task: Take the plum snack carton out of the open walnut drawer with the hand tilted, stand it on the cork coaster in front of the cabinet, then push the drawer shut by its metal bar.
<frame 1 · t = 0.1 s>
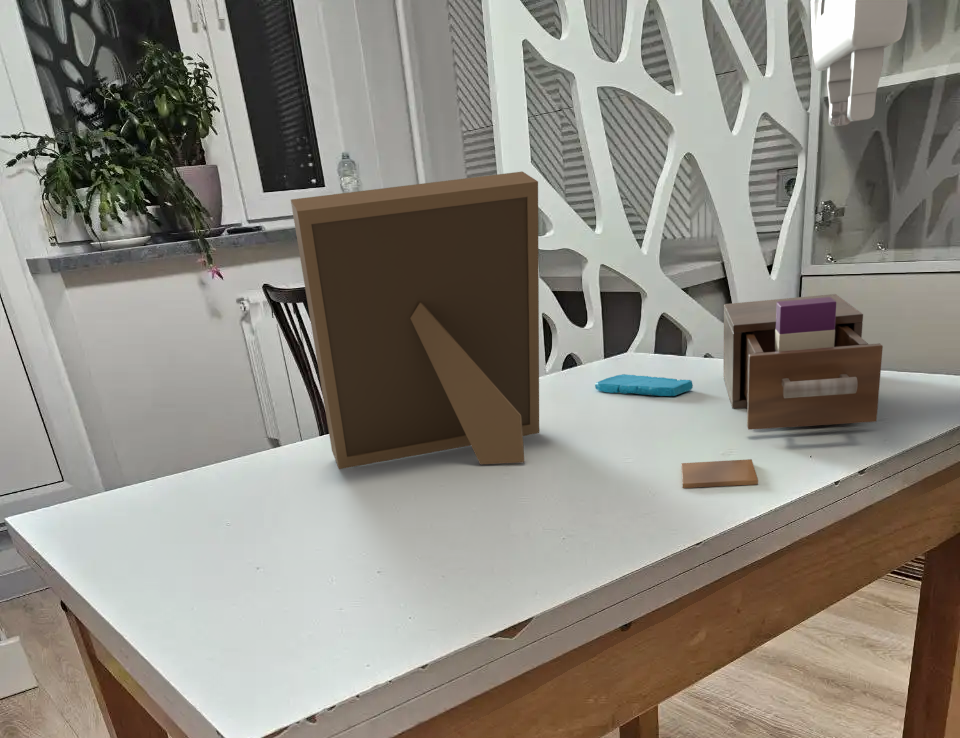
hand: (849, 123, 76), 25 cm above the table, tool pointing down, fingers open, 8 cm apart
photo frame: (448, 459, 92), on the table
snack carton: (801, 396, 91), point 2 cm above the table, touching drawer
cabinet: (784, 387, 103), on the table
coaster: (718, 475, 77), on the table
drawer: (804, 376, 88), point 4 cm above the table, slide at 11.5 cm, touching snack carton
sponge: (642, 392, 110), on the table
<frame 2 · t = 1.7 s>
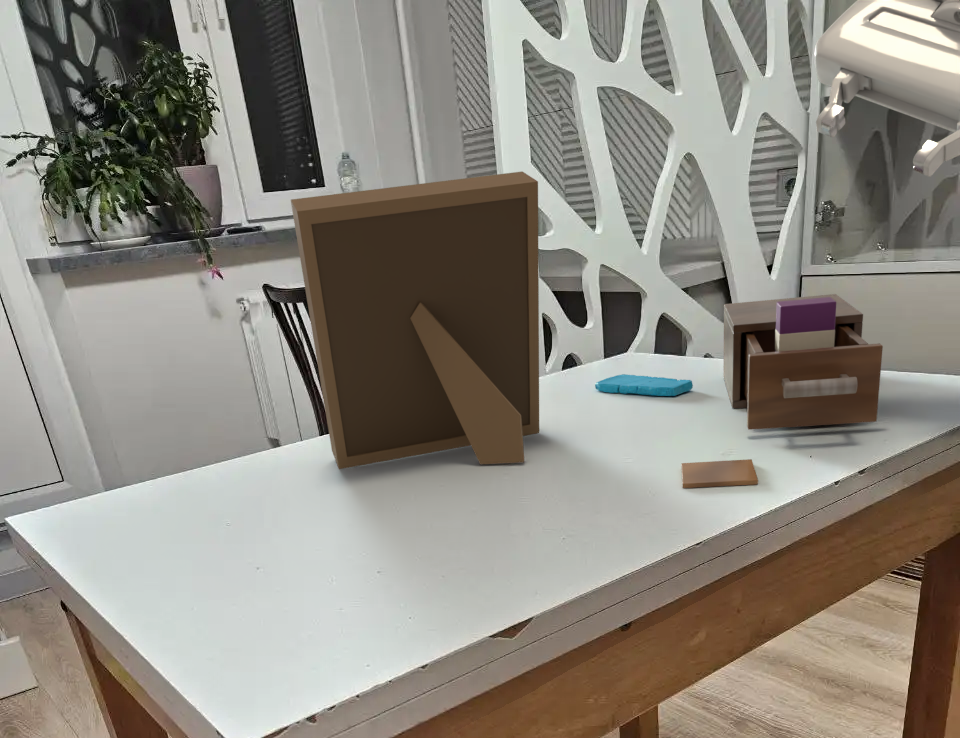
hand: (870, 148, 75), 23 cm above the table, tool tilted 50°, fingers open, 8 cm apart
nothing on the table moved.
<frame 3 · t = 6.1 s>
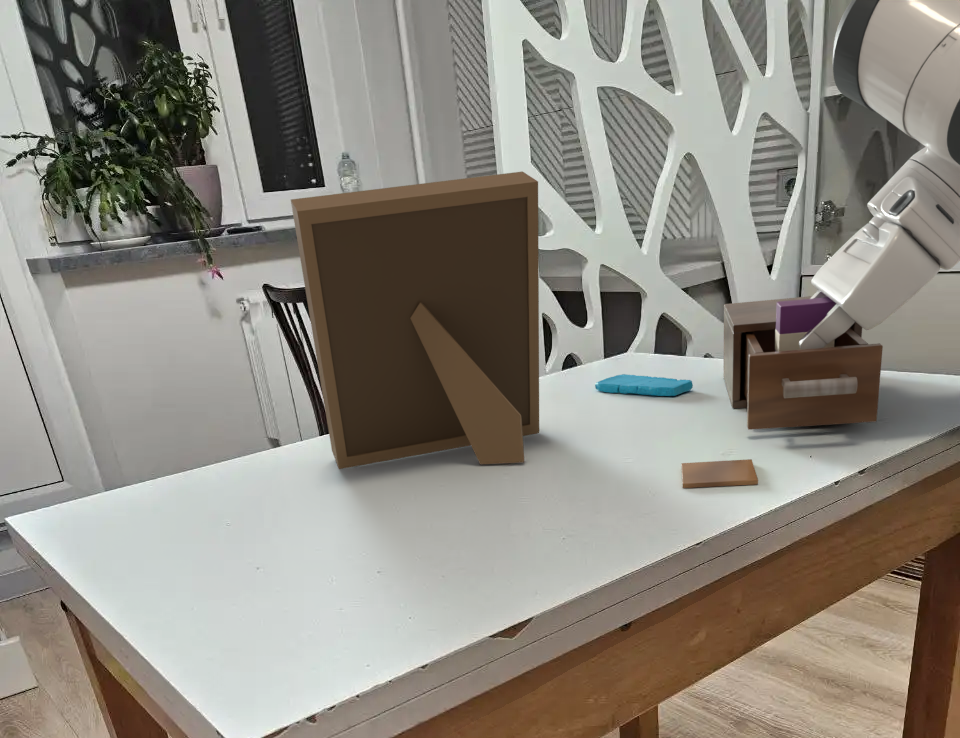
hand: (797, 343, 88), 7 cm above the table, tool tilted 45°, fingers open, 7 cm apart
nothing on the table moved.
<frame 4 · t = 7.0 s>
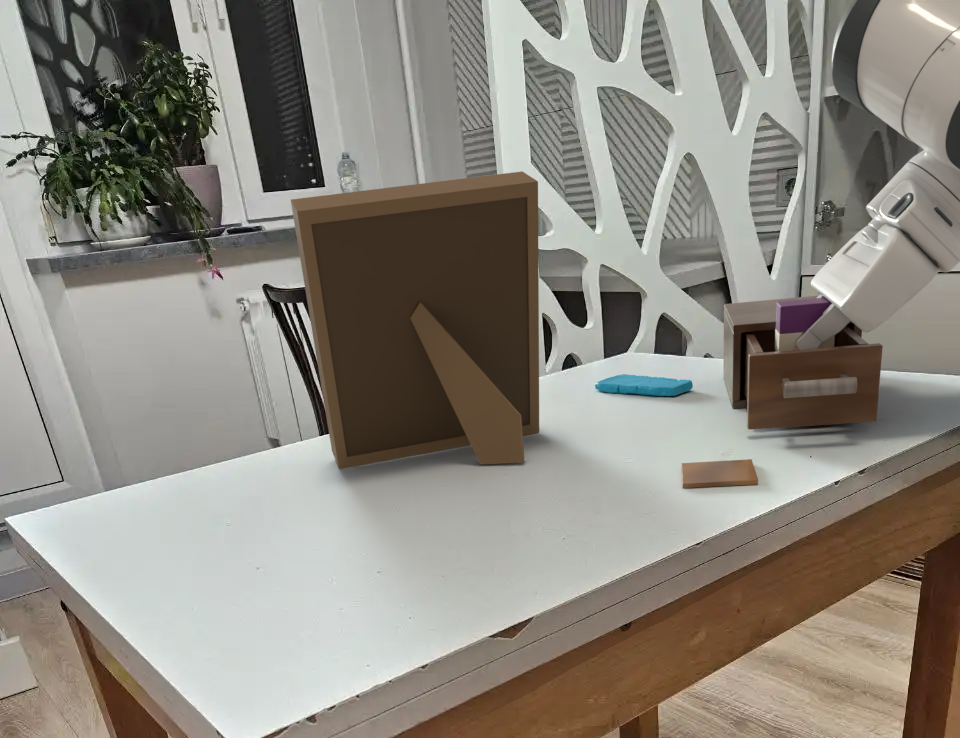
hand: (797, 345, 88), 7 cm above the table, tool tilted 45°, fingers closed on snack carton, 3 cm apart
snack carton: (801, 396, 91), point 2 cm above the table, touching drawer, gripper
everything else where it was.
when the fingers open (5 cm above the table, at t = 16.8 s): snack carton stays where it is, resting on coaster.
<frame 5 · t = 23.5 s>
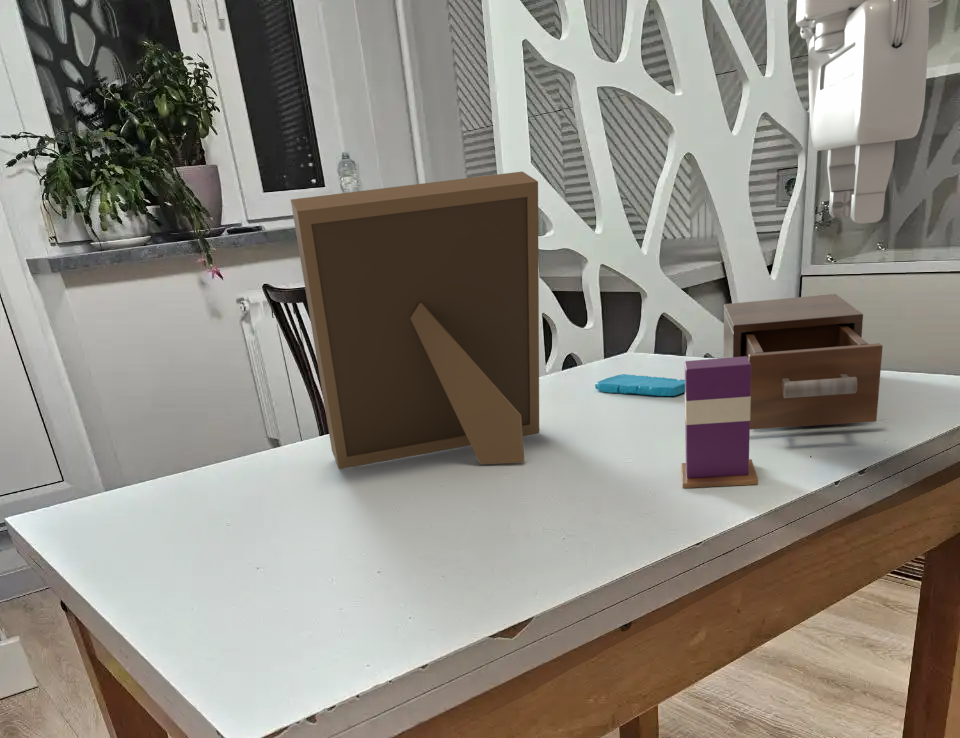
hand: (853, 219, 64), 19 cm above the table, tool pointing down, fingers open, 8 cm apart
snack carton: (716, 470, 77), resting on coaster
drawer: (804, 376, 88), point 4 cm above the table, slide at 11.5 cm
everything else where it was.
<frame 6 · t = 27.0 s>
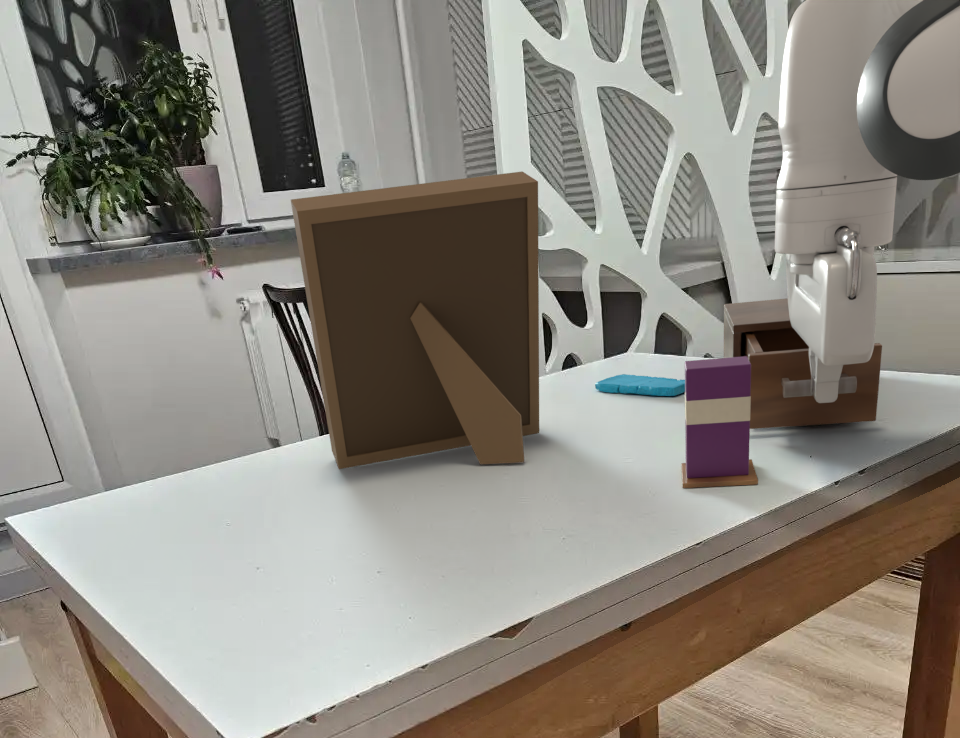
hand: (823, 399, 78), 5 cm above the table, tool pointing down, fingers closed
drawer: (804, 376, 88), point 4 cm above the table, slide at 11.2 cm, touching gripper
everything else where it was.
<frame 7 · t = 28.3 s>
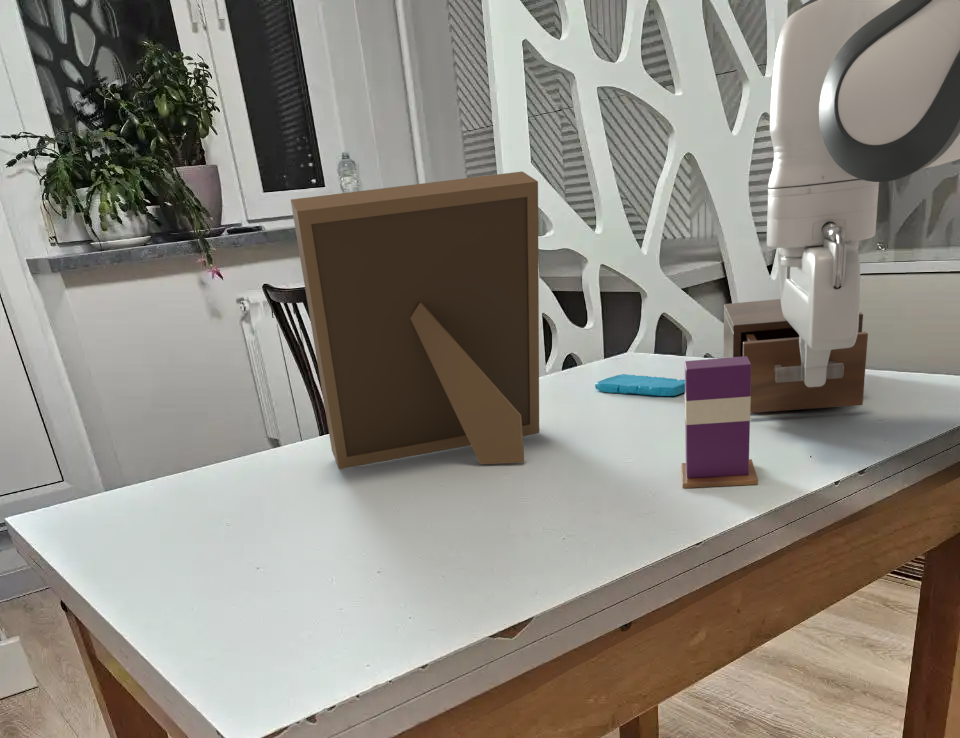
hand: (812, 383, 84), 5 cm above the table, tool pointing down, fingers closed
drawer: (796, 363, 94), point 4 cm above the table, slide at 4.8 cm, touching gripper
everything else where it was.
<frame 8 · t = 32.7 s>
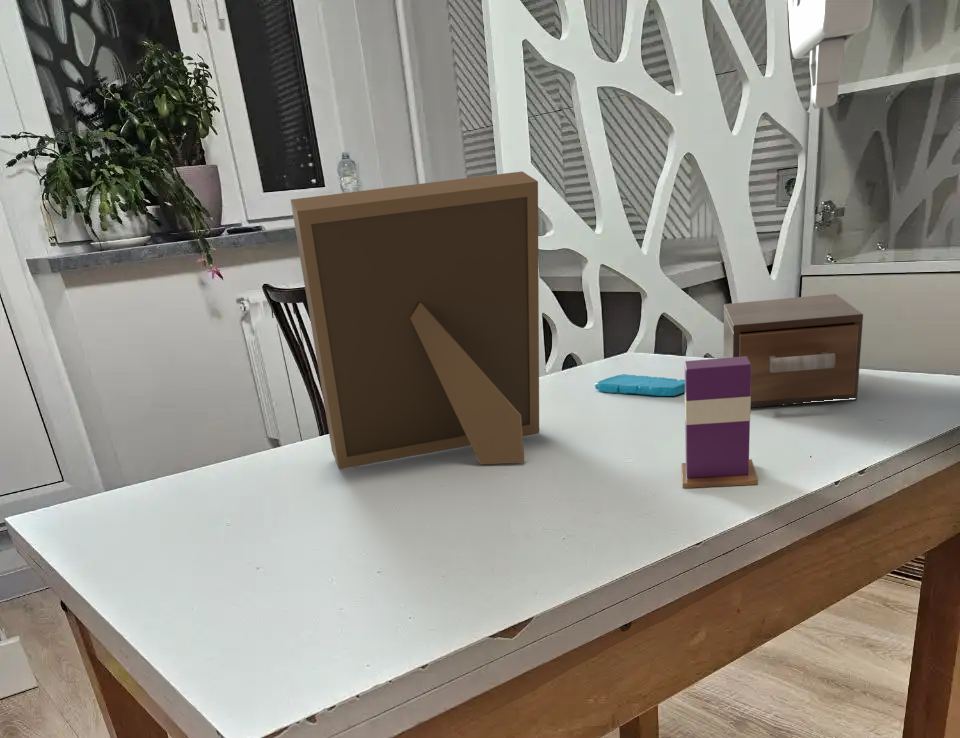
hand: (823, 107, 81), 27 cm above the table, tool pointing down, fingers closed
drawer: (790, 355, 98), point 4 cm above the table, slide at 0.0 cm
everything else where it was.
at the end: snack carton 0.1 cm off-centre on the coaster, point 0.4 cm above the coaster's base; snack carton tilted 0°; drawer slide at 0.0 cm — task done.
